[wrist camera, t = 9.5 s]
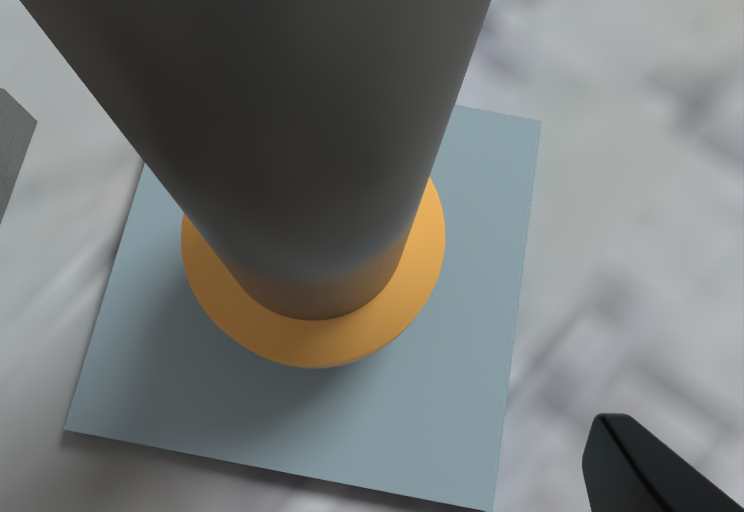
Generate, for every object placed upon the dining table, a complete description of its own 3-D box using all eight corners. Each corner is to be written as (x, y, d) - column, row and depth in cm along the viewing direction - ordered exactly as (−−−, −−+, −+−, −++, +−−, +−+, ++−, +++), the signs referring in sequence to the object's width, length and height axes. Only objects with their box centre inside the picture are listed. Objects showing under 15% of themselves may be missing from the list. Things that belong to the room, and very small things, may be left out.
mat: (487, 509, 18) (492, 512, 17) (72, 429, 18) (63, 429, 17) (535, 129, 21) (541, 120, 20) (182, 63, 21) (177, 52, 20)
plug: (407, 394, 18) (1203, 64, 1) (187, 351, 18) (-1749, -492, 1) (441, 187, 19) (984, -1107, 3) (240, 149, 19) (-331, -1336, 3)
